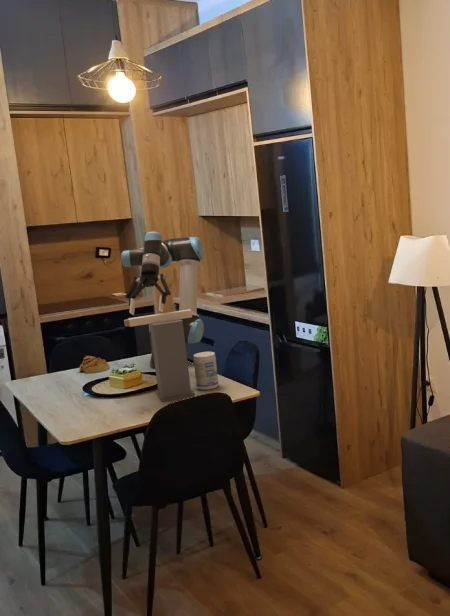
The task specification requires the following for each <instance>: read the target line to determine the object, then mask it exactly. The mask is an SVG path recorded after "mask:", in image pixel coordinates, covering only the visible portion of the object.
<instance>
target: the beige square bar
mask: <svg viewBox="0 0 450 616" xmlns="http://www.w3.org/2000/svg"><path fill="white" fill-rule="evenodd" d="M191 317H192V312H191V310H190V309H188V310H181V311H179V310H175V311H169V312H161V313H156V314H155V313H154V314H149V315H142V316H137V317H128V318H127V319H124V320H123V322H124V326H125V327H130V328H131V327H137V326H144V325H149V324H151V323H158V322H165V321H171V320H178V319H184V318H191Z"/></svg>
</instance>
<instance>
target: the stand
mask: <svg viewBox="0 0 450 616" xmlns="http://www.w3.org/2000/svg"><path fill="white" fill-rule="evenodd" d="M150 331H151V339H152V347H153V354H154V362H155V368H154V370H155V377H156V384H157V389H155V394H156V396H157V397H158V399H159V401H160V402H161V403H162V402H168V401H174V400H180V399H185V398H191V397H195V392H194V391H193V390H192V389H191V381H190V372H189V364H188V357H187V356H188V355H187V348H186V344H185V338H184V329H183V321H182V320H181V319H178V320H171V321H165V322H158V323H151V324H150Z"/></svg>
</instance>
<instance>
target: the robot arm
mask: <svg viewBox="0 0 450 616" xmlns="http://www.w3.org/2000/svg"><path fill="white" fill-rule="evenodd" d="M203 259H205V249H204V245H203V242H202V241H201V238H199V237H198V236H188V237H177V238H168V239H165V240H163V235H162V234H161V233H159V232H158V231H148V232H147V233H145V236H144V240H143V247H140V248H136V249H128V250H123V251H122V252H121V255H120V261H121V264H122V266H123V267H126V268H132V267H141V270H140V277H137V276H134V277H133V281H132V283H131V285H130V286H129V288H128V291H126V293H125V296H124V297H125V298H126V299H127V300H128V306H129V314H131V315H132V316H135V308H136V298H137V296H139V294H140V293H141V292H142V291H143V290H144V289H146V288H149V287H151V288H153V287H155V289H157V290H158V292H159V293H160V294H161V295H159V301H158V311H159V312H161V313H164V305H166V303H167V297H168V296H171V294H172V293H171V290H170V288H169V286H168V283H167V281H166V276H165V275H164V274H163V273H160V268H162V269H164V268H165V269H166V268H167V267H169V266H170V265H171V263H172V262H176V264H177V265H178V266H179V297H178V298H179V300H178V301H179V304H178V305H179V307H178V309H179V310H178V311H181V310H188V309H190V310H191V312H192V317H191V318H184V319H181V320H182V321H183V329H184V338H185V345H186V344H189V345H191V344H196V343H198V344H199V342H200V341H201V340H202V338H203V334H204V330H205V328H204V327H205V325H204V322H203V320H202V318H201V317H200V315H199V314H198V313H197V309H198V308H197V306H198V305H197V303H198V302H197V299H198V296H197V291H198V289H197V288H198V267H199V266H200V265H201V261H202V260H203ZM158 281H160V282H161V284H162V287H163V289H164V290H163V289H162V287H161V286H160V285H159V284H158ZM148 333H149V339H150V347H151V355H150V359H149V365H150V366H149V367H150V368H151V369H155V362H154V354H153V347H152V339H151V331H150V324H148Z"/></svg>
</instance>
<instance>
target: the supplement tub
mask: <svg viewBox="0 0 450 616" xmlns="http://www.w3.org/2000/svg"><path fill="white" fill-rule="evenodd" d="M193 367H194V373H195V383H196V388H197V389H198V390H201V391H202V390H203V391H204V390H206V391H207V390H213V389H216V388H217V387H218V386H219V378H218V367H217V357H216V354H215V352H214V351H202V352H197V353H194V354H193Z"/></svg>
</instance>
